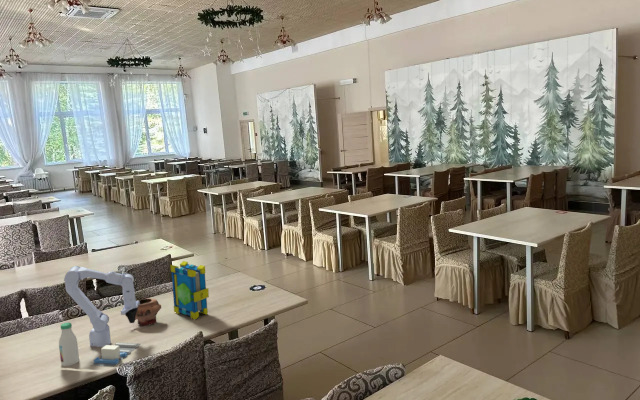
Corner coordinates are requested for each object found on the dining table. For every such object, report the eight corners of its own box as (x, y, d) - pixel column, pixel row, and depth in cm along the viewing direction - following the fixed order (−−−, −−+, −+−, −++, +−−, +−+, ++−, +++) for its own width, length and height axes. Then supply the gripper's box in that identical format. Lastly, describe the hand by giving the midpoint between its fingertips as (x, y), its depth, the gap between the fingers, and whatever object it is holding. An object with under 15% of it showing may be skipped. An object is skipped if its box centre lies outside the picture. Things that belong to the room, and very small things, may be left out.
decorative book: (193, 321, 276) (189, 271, 271) (169, 313, 290) (165, 265, 285) (212, 313, 287) (209, 265, 282) (188, 305, 301) (185, 259, 296)
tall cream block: (102, 360, 229) (101, 348, 229) (107, 356, 233) (106, 344, 232) (115, 361, 228) (114, 349, 227) (120, 357, 232) (119, 345, 231)
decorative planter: (128, 332, 263) (126, 308, 261) (123, 325, 273) (121, 301, 271) (165, 323, 275) (163, 299, 273) (158, 316, 285) (156, 294, 283)
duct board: (90, 367, 225) (89, 361, 225) (119, 344, 249) (119, 339, 248) (113, 368, 223) (113, 363, 223) (141, 345, 247) (140, 340, 246)
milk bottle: (82, 359, 233) (78, 320, 230) (74, 367, 226) (70, 327, 223) (66, 360, 233) (61, 321, 230) (58, 368, 225) (53, 327, 222)
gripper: (128, 303, 240) (131, 328, 242) (143, 292, 254) (146, 317, 257) (115, 302, 242) (118, 328, 244) (131, 292, 256) (134, 316, 258)
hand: (132, 322), depth 250 cm, fingers closed
